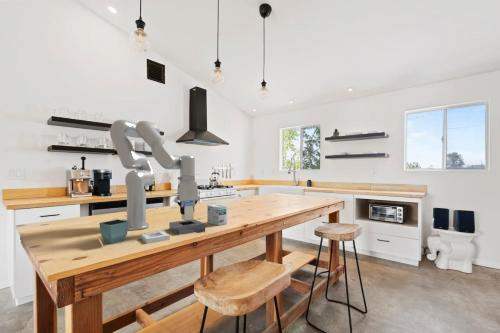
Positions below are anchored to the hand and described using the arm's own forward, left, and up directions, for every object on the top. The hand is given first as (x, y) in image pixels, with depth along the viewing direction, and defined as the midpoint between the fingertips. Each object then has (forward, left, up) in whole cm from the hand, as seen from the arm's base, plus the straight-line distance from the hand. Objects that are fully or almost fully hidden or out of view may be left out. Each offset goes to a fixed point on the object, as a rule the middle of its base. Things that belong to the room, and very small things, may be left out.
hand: (187, 213), depth 129 cm
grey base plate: (-8, -18, -9) cm, 22 cm away
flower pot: (-24, -24, -9) cm, 35 cm away
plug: (0, 0, -3) cm, 3 cm away
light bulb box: (+11, +19, -9) cm, 24 cm away
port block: (0, 0, -9) cm, 9 cm away
